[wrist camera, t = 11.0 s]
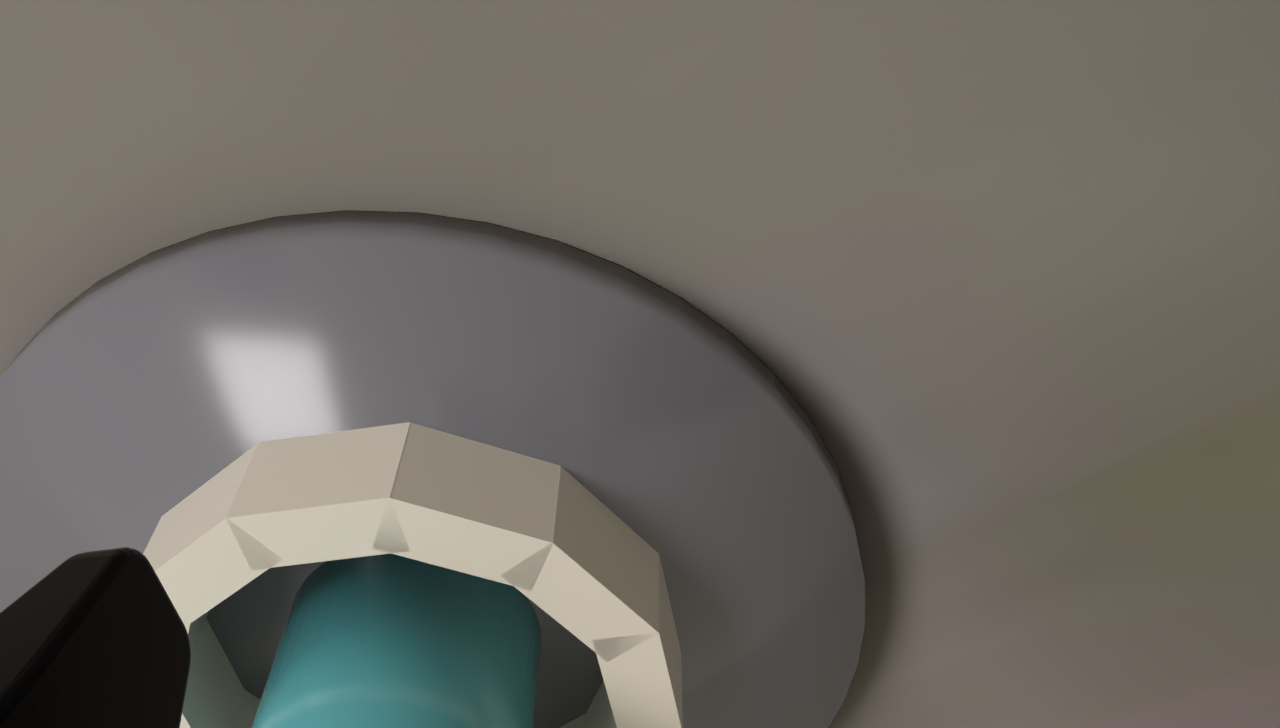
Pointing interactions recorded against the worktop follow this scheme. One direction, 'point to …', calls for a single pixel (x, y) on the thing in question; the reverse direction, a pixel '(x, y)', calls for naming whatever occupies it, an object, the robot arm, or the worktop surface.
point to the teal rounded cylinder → (403, 650)
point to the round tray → (469, 375)
